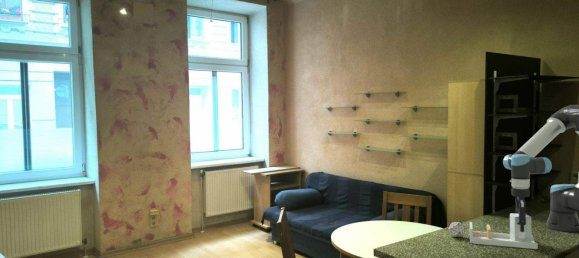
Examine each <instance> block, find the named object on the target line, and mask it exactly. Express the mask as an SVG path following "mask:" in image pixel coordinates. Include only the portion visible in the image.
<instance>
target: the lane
mask: <svg viewBox="0 0 579 258" xmlns="http://www.w3.org/2000/svg"><path fill="white" fill-rule="evenodd" d="M473 227H474V226H473V221H469V243H470V244H477V245H487V246H499V247H511V248H522V249H531V250H532V249H533V250H538V249H539V247H538V246H539V245H538V242H535V241H534V235H531V242H520V241H512V240H511V239H510V233H503V232H502V233H501V232H492V231H491V239H487V231H478V230H477V231H476V230H473V229H474V228H473Z"/></svg>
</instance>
